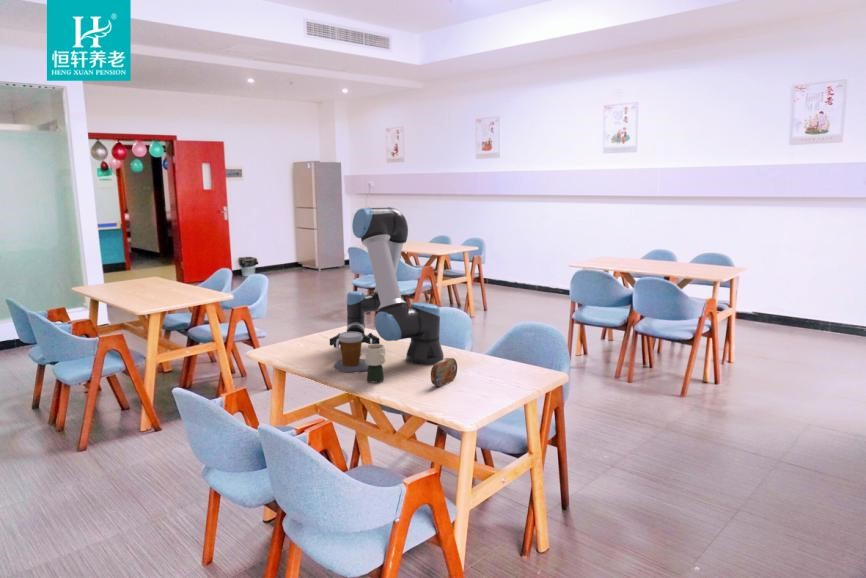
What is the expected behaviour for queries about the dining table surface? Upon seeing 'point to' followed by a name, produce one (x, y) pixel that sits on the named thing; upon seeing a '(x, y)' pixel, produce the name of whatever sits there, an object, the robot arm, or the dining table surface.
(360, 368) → the mat
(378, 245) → the robot arm
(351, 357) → the disposable coffee cup
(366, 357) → the character mug
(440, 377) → the tin
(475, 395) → the dining table surface
